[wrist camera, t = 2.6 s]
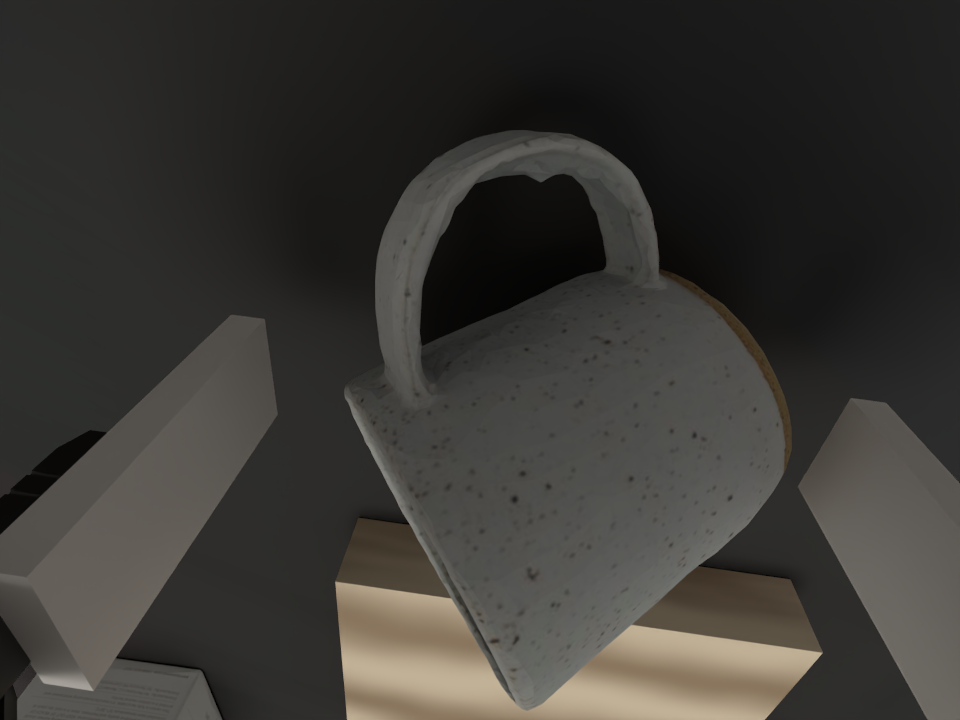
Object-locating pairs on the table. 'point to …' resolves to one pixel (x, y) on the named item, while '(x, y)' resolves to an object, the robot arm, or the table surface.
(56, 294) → the table surface
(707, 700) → the square wooden tile
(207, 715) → the supplement box
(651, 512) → the ceramic mug
